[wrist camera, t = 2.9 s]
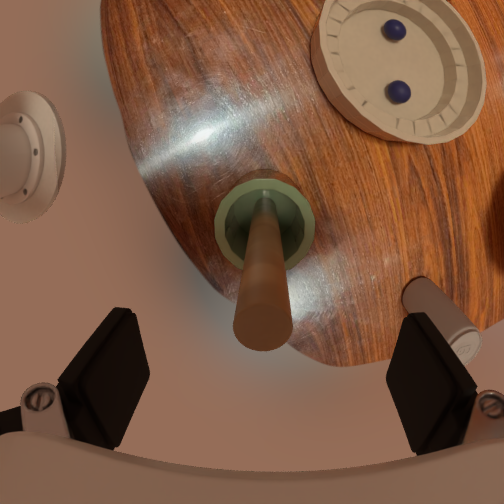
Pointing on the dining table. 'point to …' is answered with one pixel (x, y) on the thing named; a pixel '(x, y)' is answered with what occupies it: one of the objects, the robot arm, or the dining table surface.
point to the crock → (241, 209)
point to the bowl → (400, 68)
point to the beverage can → (444, 317)
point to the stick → (263, 285)
